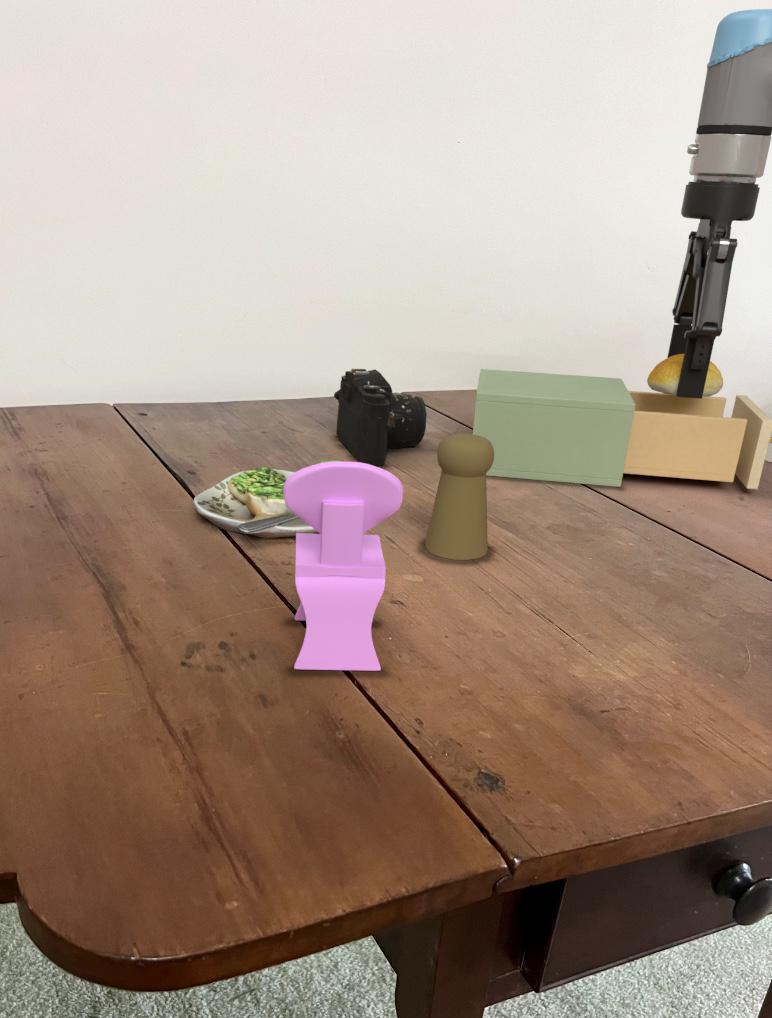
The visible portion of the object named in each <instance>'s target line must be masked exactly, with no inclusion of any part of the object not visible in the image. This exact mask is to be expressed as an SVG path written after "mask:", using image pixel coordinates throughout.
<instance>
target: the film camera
mask: <svg viewBox="0 0 772 1018" xmlns="http://www.w3.org/2000/svg"><path fill="white" fill-rule="evenodd" d="M339 384H340V385H339V388H340V389H338V390H337V391H335V392H334V394H333V397H334V399H336V400H337V403H338V408H337V419H336V422H337V423H336V437H337V439H338V440H339V442H341V443H342V445H344V447H345V448H346V449H347V450H348V451H349V452H350V453H351V454H352V455H353V457H354V458H355V459H356V460H357V462H360V463H365V464H370V465H373V466H376V467H379V466H383V465H384V466H385V462H386V456H387V450H394V449H402V448H403V449H404V448H405V447H410V448H413V447H417V446H418V445H419V444H420V443H421V442H422V441H423V438H424V436H425V433H426V428H427V415H428V414H427V413H428V412H427V409H426V403H425V401H424V399H423V397H421V396H414V397H413V396H412V395H411V394H394V393H393V389H392V385H391V384H390V383H389V382H388V380H387V379H386V378H385V377H384V375H383V374H382V372H380V371H379V370H377V369H371V370H366V368H351V369H350V370H347V371H345V373H344V375H342V376H341V379H340V383H339Z"/></svg>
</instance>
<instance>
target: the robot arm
mask: <svg viewBox="0 0 772 1018" xmlns="http://www.w3.org/2000/svg"><path fill="white" fill-rule="evenodd" d="M698 115H699V116H698V120H697V127H696V131H695V134H696V135H695V138H694V143H695V144H693V143H692V144H689V145H688V146H687V150H686V153H687V154H688V155H692V157H691V160H690V165H689V171H688V173H689V175H690V176H693V178H692V179H693V181H688V182H687V184H685V189H684V193H683V200H682V205H681V210H680V215H681V216H682V218H686V219H691V220H692V219H693V220H699V222H698V225H697V230H696V231H695V230H693V231H692V230H691V231H690V233H689V235H688V243H687V248H686V249H687V250H686V253H685V258H684V262H683V266H682V271H681V277H680V279H679V284H678V288H677V293H676V295H675V296H676V297H675V301H674V305H673V308H672V311H671V313H672V316H673V323H674V324H673V327H672V332H671V337H670V342H669V347H668V351H667V358H669V357H671V356H673V355H678V354H684V359H683V364H682V369H681V374H680V379H679V384H678V389H677V394H676V396H677V397H685V398H699V399H702V396H703V391H704V387H705V382H706V377H707V373H708V368H709V363H710V361H711V357H712V353H713V349H714V344H715V340H716V338H717V337H720V336H721V335H722V332H723V323H724V317H725V311H726V305H727V299H728V292H729V286H730V281H731V275H732V274H731V273H732V268H733V261H734V257H735V255H736V254H735V253H736V249H737V247H738V239H737V238H731V233H732V224H733V221H734V222H735V221H736V222H747V221H750V220H752V219H753V217H755V213H756V207H757V203H758V199H759V194H760V189H761V187H759V184H758V183H757V182H756V181H757V178H758V179H759V178H762V177H763V176H764V173H765V168H766V165H767V159H768V154H769V150H770V145H771V142H772V141H771V140H772V8H757V9H755V8H754V9H744V10H738V11H733V12H730V13H728V14H726V15H725V16H724V17H723V18H722V19H721V20H720V21H719V22H718V25H717V27H716V31H715V36H714V40H713V44H712V47H711V53H710V56H709V61H708V62H707V64H706V74H705V80H704V85H703V92H702V97H701V103H700V109H699V114H698ZM667 358H666V359H667Z"/></svg>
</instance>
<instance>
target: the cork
mask: <svg viewBox="0 0 772 1018" xmlns="http://www.w3.org/2000/svg"><path fill="white" fill-rule="evenodd" d="M436 458H437V463H438V466H439V467H440V469H441V473H440V476H439V481H438V486H437V490H436V494H435V499H434V502H433V503H434V504H433V507H432V512H431V516H430V520H429V524H428V525H429V526H428V528H427V529H428V530H427V533H426V538H425V543H424V547H425V549H426V551H428V553H430V554H432V555H434V556H436V557H439V558H443V559H447V560H453V561H456V560H457V561H470V560H476V559H481V558H483V557H485V556H486V555H487V554H488V551H489V543H488V542H489V539H488V538H489V537H488V497H487V495H488V494H487V476H486V473H487V472H488V471H489V469H490V468H491V466H492V464H493V461H494V448H493V446H492V444H491V442H490V441H489V440H488V439H486V438H485V437H482V436H478V435H474V434H472V433H453V434H449V435H447V436H445V437H444V438H443V439H442V440H441V441H440V443H439V444H438V447H437V453H436Z"/></svg>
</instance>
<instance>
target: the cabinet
mask: <svg viewBox="0 0 772 1018" xmlns="http://www.w3.org/2000/svg"><path fill="white" fill-rule="evenodd" d="M628 391H629V390H628V388H627V387H626V384H625V382H624V380H623V379H622V378H620V377H604V376H591V375H578V374H577V375H576V374H561V373H544V372H531V371H518V370H517V371H516V370H502V369H488V368H486V369H484V368H480V371H479V377H478V382H477V388H476V397H475V404H474V415H473V424H472V433H471V434H474V435H478V436H482V437H485V438H486V439H488V440H489V441H490V442H491V444H492V446H493V448H494V461H493V464H492V466H491V468H490V469H489V471H488V472H487V473H486V477H497V478H509V479H521V480H532V481H544V482H545V481H546V482H557V483H567V484H568V483H569V484H581V485H592V486H604V487H616V488H621V487H622V481H623V477H624V473H623V471H624V466H625V460H626V455H627V449H628V443H629V438H630V432H631V427H632V421H633V415H634V410H635V403H634V401H633V399H632V397H631V395H630V394H629V392H628Z"/></svg>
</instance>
